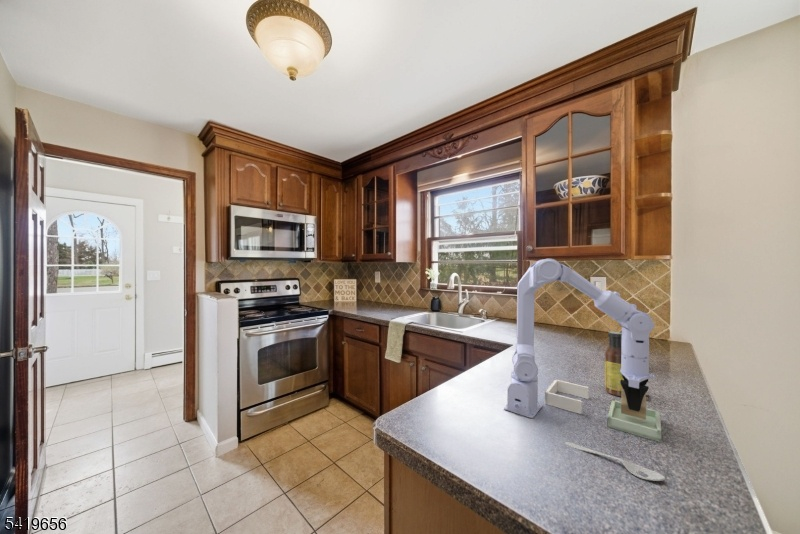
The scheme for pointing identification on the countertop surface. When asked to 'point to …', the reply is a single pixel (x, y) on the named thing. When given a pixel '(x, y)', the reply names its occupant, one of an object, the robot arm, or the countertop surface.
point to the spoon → (625, 464)
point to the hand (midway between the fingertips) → (634, 406)
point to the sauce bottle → (613, 364)
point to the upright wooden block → (631, 412)
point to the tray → (635, 422)
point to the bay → (563, 401)
